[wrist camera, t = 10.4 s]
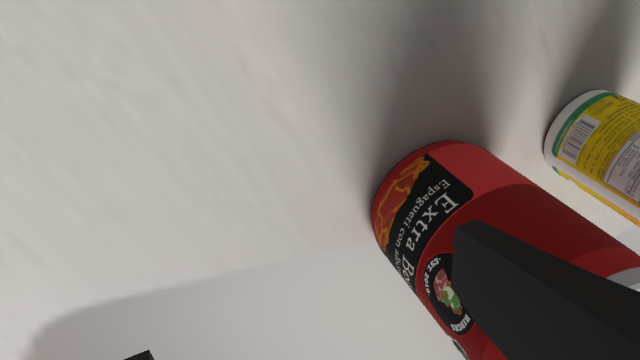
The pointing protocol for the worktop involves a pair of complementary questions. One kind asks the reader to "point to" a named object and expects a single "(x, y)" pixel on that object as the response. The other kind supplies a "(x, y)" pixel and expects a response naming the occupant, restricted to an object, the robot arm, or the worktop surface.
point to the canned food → (489, 207)
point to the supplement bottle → (599, 149)
